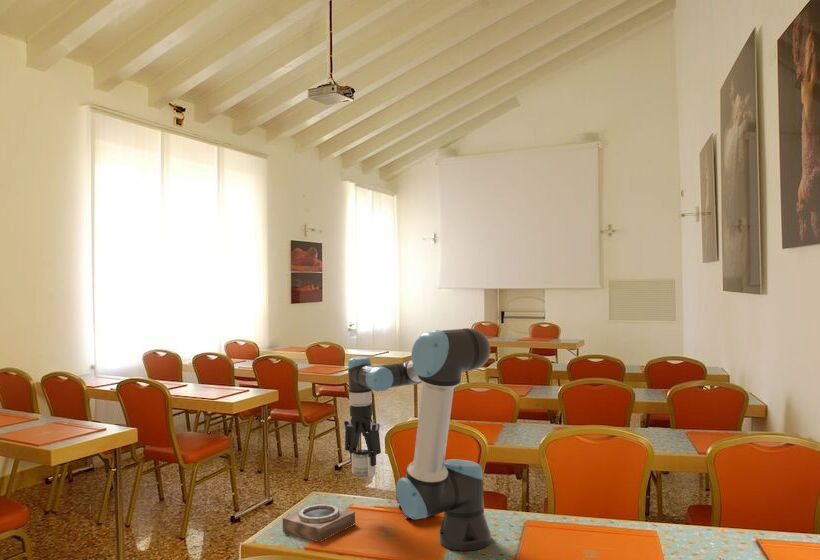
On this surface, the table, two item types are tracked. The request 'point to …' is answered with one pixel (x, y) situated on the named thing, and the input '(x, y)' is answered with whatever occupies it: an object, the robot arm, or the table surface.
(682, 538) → the table surface
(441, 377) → the robot arm
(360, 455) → the camera lens
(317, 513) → the mount block
